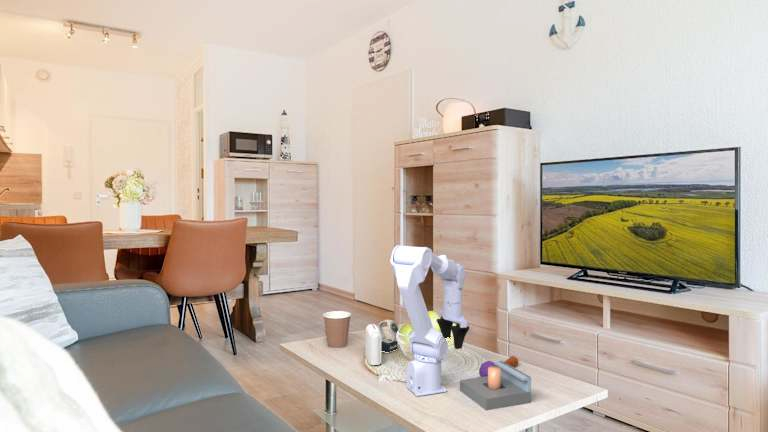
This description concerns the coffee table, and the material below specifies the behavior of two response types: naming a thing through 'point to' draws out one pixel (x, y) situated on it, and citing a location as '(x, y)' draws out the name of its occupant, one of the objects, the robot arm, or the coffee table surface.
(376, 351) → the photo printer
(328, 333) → the coffee cup
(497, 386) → the peg
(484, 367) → the kendama
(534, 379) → the coffee table surface
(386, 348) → the watch
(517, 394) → the socket
